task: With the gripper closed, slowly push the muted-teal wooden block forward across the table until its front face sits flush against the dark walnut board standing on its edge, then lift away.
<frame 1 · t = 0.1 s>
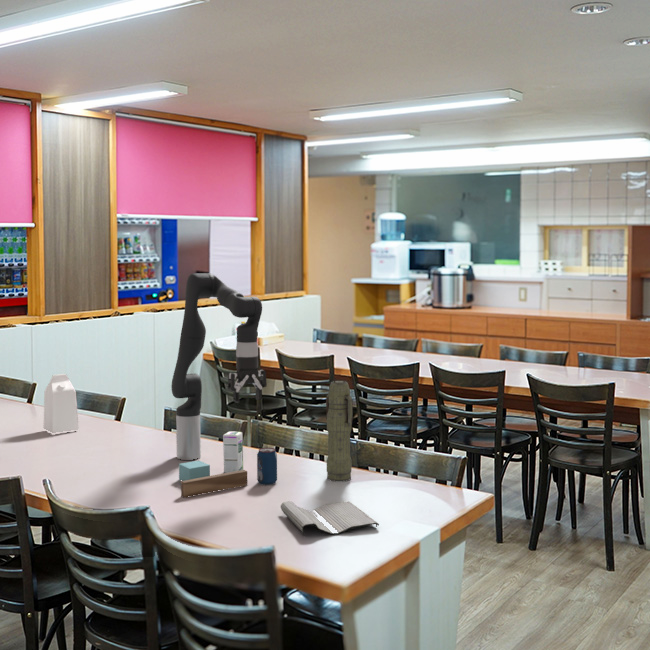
hand: (247, 401, 272), 29 cm above the table, tool pointing down, fingers open, 8 cm apart
syrup box: (233, 472, 291), on the table
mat: (328, 523, 236), on the table
soda can: (267, 483, 276), on the table
board: (215, 490, 267), on the table
block: (194, 481, 279), on the table
milk: (61, 431, 357), on the table
thermos: (338, 478, 282), on the table
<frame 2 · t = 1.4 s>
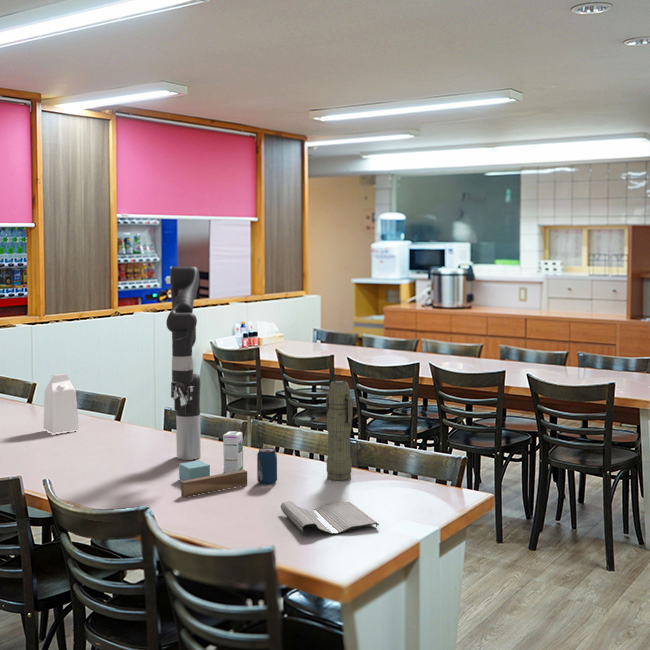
hand: (183, 412, 284), 23 cm above the table, tool pointing down, fingers open, 8 cm apart
nothing on the table moved.
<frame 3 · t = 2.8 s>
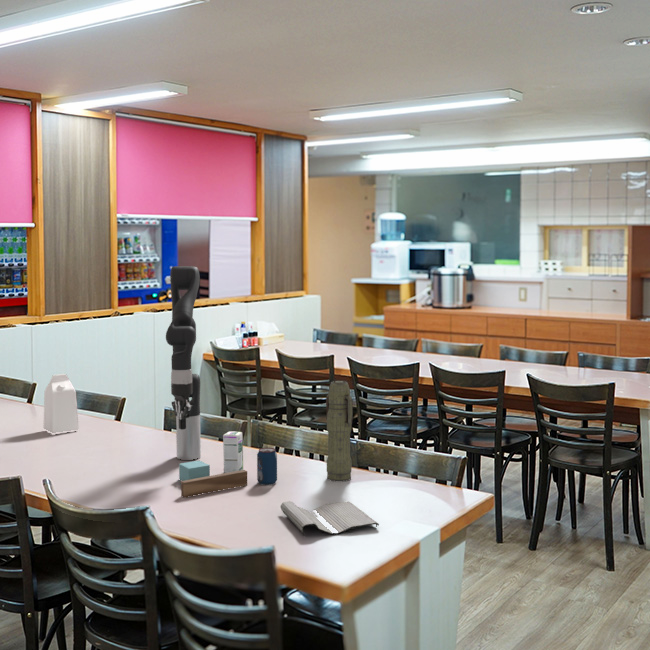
hand: (182, 429, 285), 17 cm above the table, tool pointing down, fingers closed
nothing on the table moved.
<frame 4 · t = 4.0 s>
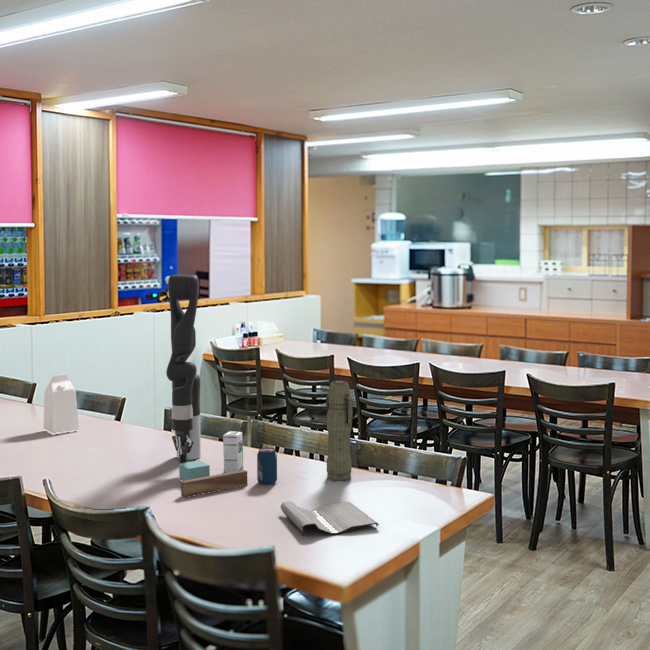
hand: (182, 463, 286), 4 cm above the table, tool pointing down, fingers closed
nothing on the table moved.
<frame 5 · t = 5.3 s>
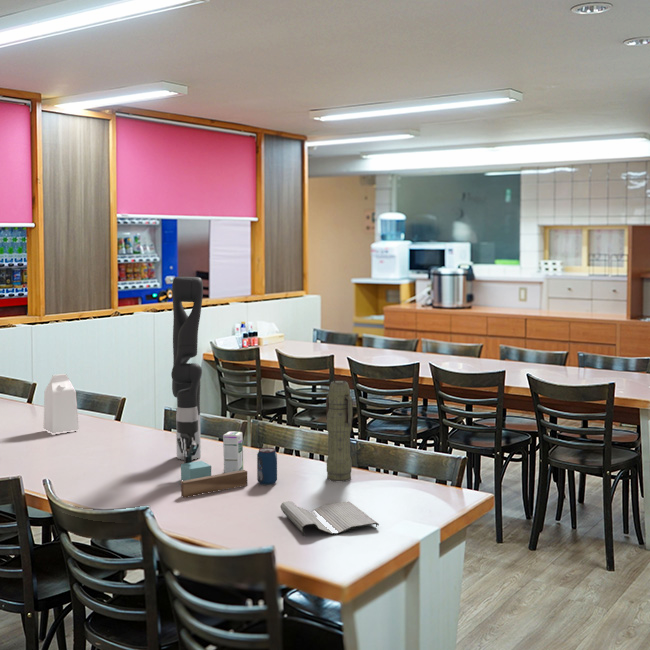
hand: (188, 466, 282), 4 cm above the table, tool pointing down, fingers closed
block: (196, 481, 278), on the table, touching gripper
everything else where it was.
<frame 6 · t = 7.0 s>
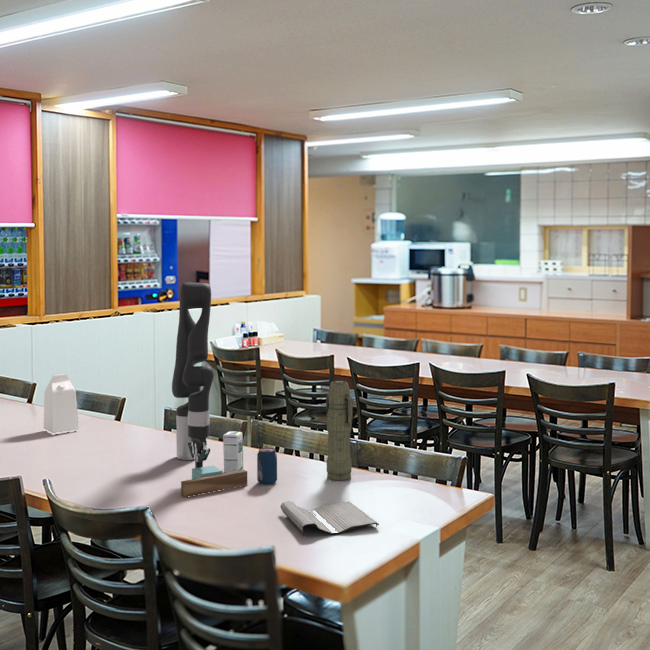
hand: (199, 471, 276), 4 cm above the table, tool pointing down, fingers closed
block: (207, 486, 271), on the table, touching board, gripper
everything else where it was.
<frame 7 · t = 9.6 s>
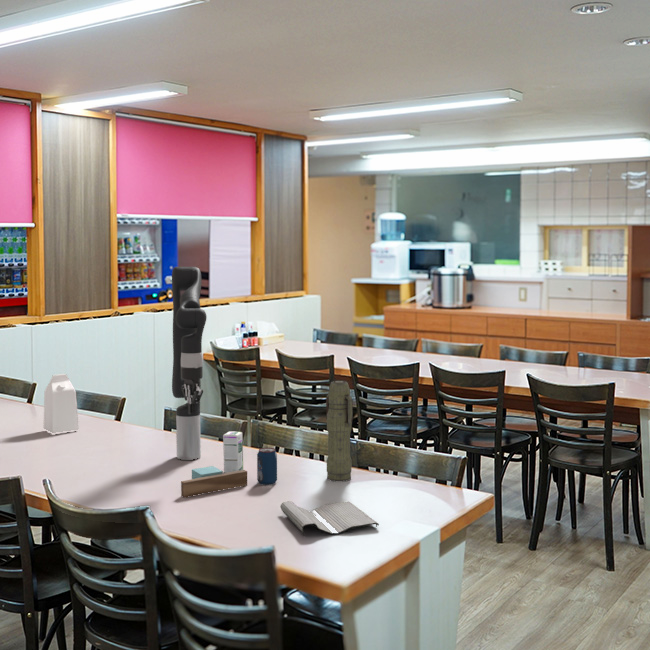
hand: (192, 413, 278), 24 cm above the table, tool pointing down, fingers closed
block: (207, 487, 272), on the table
everything else where it was.
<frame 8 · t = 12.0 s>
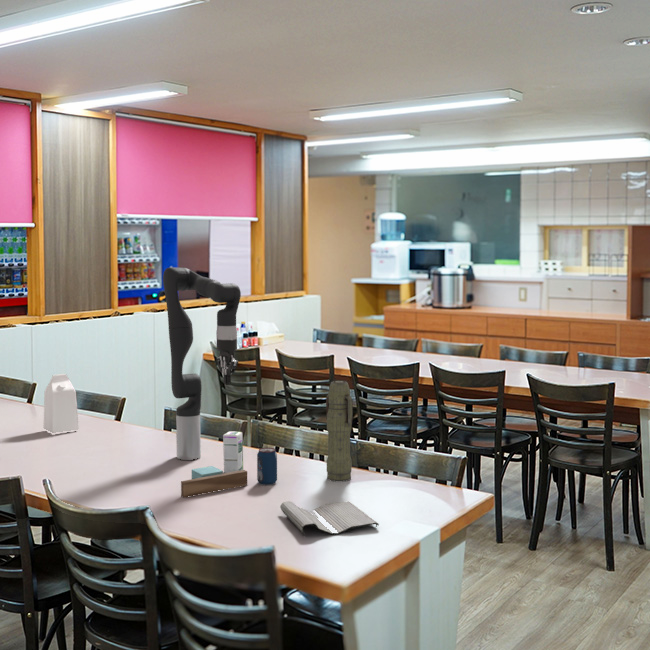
hand: (227, 384, 291), 32 cm above the table, tool pointing down, fingers closed
nothing on the table moved.
at the end: block 0.1 cm from the target spot on the table beside the board, on the table; block tilted 0° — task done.
